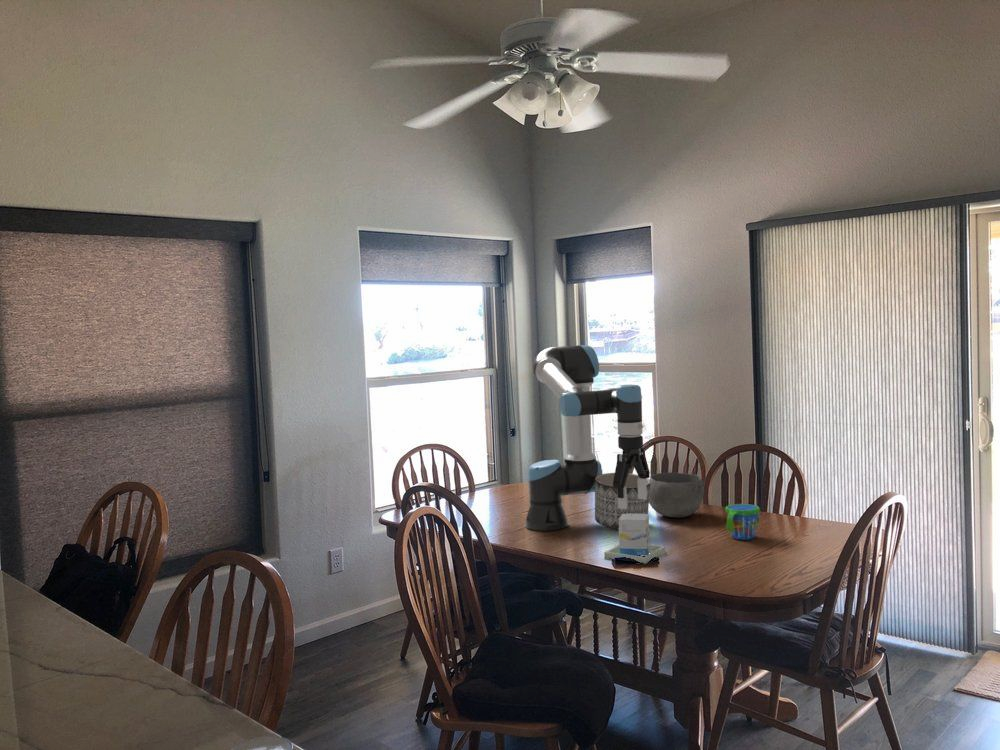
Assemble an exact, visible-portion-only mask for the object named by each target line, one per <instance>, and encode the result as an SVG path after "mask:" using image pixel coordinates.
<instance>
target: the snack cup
mask: <svg viewBox="0 0 1000 750" xmlns="http://www.w3.org/2000/svg"><path fill="white" fill-rule="evenodd" d="M725 512H726V513H727V518H726V524H725V525H726V527H725V528H726V530H727V532H730V535H731V537H732V538H734V539H736V540H741V541H747V540H753V539H755V538H756V534H757V528H758V527H757V526H758V524H759V523H760V515H759V513H760V512H761V508H760V506H758V505H755V504H749V503H747V504H746V503H735V504H729V505H726V506H725Z"/></svg>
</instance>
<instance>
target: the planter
mask: <svg viewBox="0 0 1000 750" xmlns="http://www.w3.org/2000/svg"><path fill="white" fill-rule="evenodd" d="M614 475H615V472H607V473H602V474H601V475H598V476H596V478H595V492H594V520H595V521H596V523H597V524H599V525H601V526H603V527H606V528H610V529H615V530H619V518H620V517H621V515H622V514H628V513H633V514H649V506H650V504H649V493H650V480H649V479H650V478H646V485H647V499H646V500H645V499H638V481H637V478H640V477H639V476H638V474H637V473H636V474H634V473H630V472H629V474H628V477H627V480H626V484H625V487H626V494H627V509H622V508H618V499H617V487H614V486H613V480H614Z"/></svg>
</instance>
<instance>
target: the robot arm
mask: <svg viewBox="0 0 1000 750" xmlns="http://www.w3.org/2000/svg"><path fill="white" fill-rule="evenodd" d="M532 372H533V374H534V377H535V378H536V379H537V381H539V382H540V383H542V384H544V385H546V386H547V387H548V388H549V390H550V391H552V393H553V394H554V395H555V396H556V397H557V398H558V406H559V407H558V408H559V410H560V414H561V415H562V416H563V417H566V427H567V428H566V429H567V430H566V431H567V453H566V455H565V456H564V457H563V459H564V460H563V461H564V462H562V463H561V462H560V460H558V459H547V460H546V459H544V460H541V461H537V462H535V463H532V464H531V465H530V466H528V470H527V471H528V475H527V480H528V496H529V498H528V499H529V508H528V511H527V515H526V520H525V527H526V529H529V530H532V531H556V530H561V529H564V528H566V527H568V523H569V522H568V517H567V514H566V512H565V509H564V506H563V501H562V500H563V499H562V497H563V496H573V495H580V494H582V495H586V494H591V493H595V478H596V476H598V475H601V474H603V467H602V464H601V461H599V460H597V457H596V455H595V454H594V453H593V452H592V451H593V450H592V449H593V447H592V424H591V423H592V421H591V420H592V419H591V415H605V414H607V415H608V414H616V416H617V434H618V435H619V436H618V437H617V442H618V443H617V444H618V445H617V446H618V448H619V449H621V450H622V453H618V454H617V455H616V464H615V465H616V466H615V470H614V473H615V475H614V480H613V486H614V487H617V499H618V508H622V509H627V494H626V487H625V484H626V480H627V477H628V474H629V473H630V470H631V469H632V468H634V470H635V472H636V475H638V476H639V477H640V478H637V481H638V499H645V500H646V499H647V485H646V478H648V479H650V477H651V476H650V473H651V472H650V469H649V464H648V461H647V457H646V454H645V448H644V437H643V435H642V434H643V428H644V425H643V407H642V406H643V402H642V401H643V395H642V388H641V386H640V385H639V384H621V385H620V384H619V385H618V386H617V387H616V388H615V387H614V388H613V387H612V388H607V389H600V390H591V389H590V388H591V386H592V385H593V384H594V381H595V380H594V378H596V377H598V376H599V372H600V362H599V358H598V355H597V352H596V351H595V349H594V348H593V347H592V346H590V345H585V344H584V345H583V344H581V345H580V344H578V345H567V346H566V345H565V346H564V345H563V346H551V347H550V346H549V347H547V348H545V349H543V350H542V351H540V352H539V353H538V354H537V355H536V357H535V358H534V360H533V364H532Z"/></svg>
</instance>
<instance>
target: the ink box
mask: <svg viewBox="0 0 1000 750" xmlns="http://www.w3.org/2000/svg"><path fill="white" fill-rule="evenodd" d="M649 517H650V514H649V513H648V514H633V513H628V514H622V515H621V517H620V518H619V529H618V539H619V541H618V542H619V544H618V545H620V554H628V555H648V554H649V551H650V545H651V543H650V542H651V541H650V539H651V538H650V518H649Z"/></svg>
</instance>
